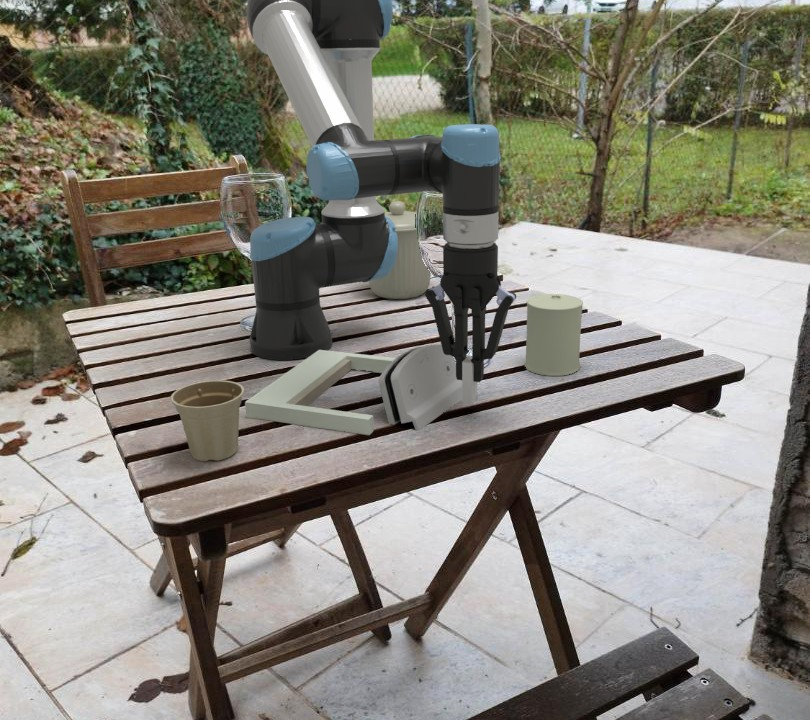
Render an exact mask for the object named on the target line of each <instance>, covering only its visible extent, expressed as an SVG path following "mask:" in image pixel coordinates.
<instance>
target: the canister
mask: <svg viewBox="0 0 810 720" xmlns="http://www.w3.org/2000/svg"><path fill="white" fill-rule="evenodd" d="M388 209H389V211H385V216H386V217H388V218H390V219H391V220H392V222H393V223H394V225H395V228H396V229H395V232H396V233H397V237H398V251H397V257H396V261H395V264H394V266H393V268H392V270H390V272H389V273H388V274H387V275H386V276H385V277H383V278H379V279H375V280H371V281H369V282H368V284H369V288H370V289H371V291H372V293H374V295H376V296H378V297H380V298H382V299H389V300H405V299H407V300H408V299H412V298H416V297H419V296H421V295H424V294H425V293H426V292H427V291H428V290H429V289H428V288H429V286H430V283H431V274H432V272H431V273H430V271H429V270H428V269H427V267H426V266H425V264H424V262H423V260H422V256H421V253H420V249H419V244H418V239H417V234H416V228H415V214H416V212H417V211H406V205H405V203H404V202H402V201H400V200H396V201H392V202H391V203H390V204H389V206H388Z"/></svg>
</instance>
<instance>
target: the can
mask: <svg viewBox="0 0 810 720" xmlns="http://www.w3.org/2000/svg"><path fill="white" fill-rule="evenodd" d="M583 306H584V302H583V300H582V298H579V297H576V296H573V295H570V294H569V295H568V294H563V293H561V294H560V293H543V294H537V295H534V296H530V297H529V298H527V300H526V339H525V341H526V342H525V345H526V347H525V359H524V360H525V361H524V368H525V367H526V368H525V369H526V370H527V371H529V372H530V371H531V373H533V374H535V373H536V375H539V374H540V375H541V376H544V375H546V376H545V377H563V376H564V375H565V376H569V374H570V375H573V374H575V373H577V372H578V371H580V367H581V366H580V349H581V347H580V346H581V333H582V332H581V330H582V316H583V315H582V314H583ZM576 371H577V372H576ZM574 372H575V373H574ZM572 373H573V374H572Z"/></svg>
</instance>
